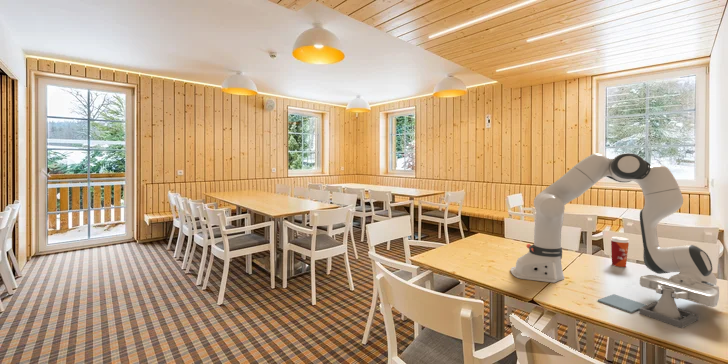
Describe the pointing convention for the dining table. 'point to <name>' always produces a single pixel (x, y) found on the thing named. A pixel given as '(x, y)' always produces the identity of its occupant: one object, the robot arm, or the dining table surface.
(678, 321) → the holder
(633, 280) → the dining table surface
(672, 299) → the flask
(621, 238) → the paper cup
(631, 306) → the mat
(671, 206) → the robot arm
